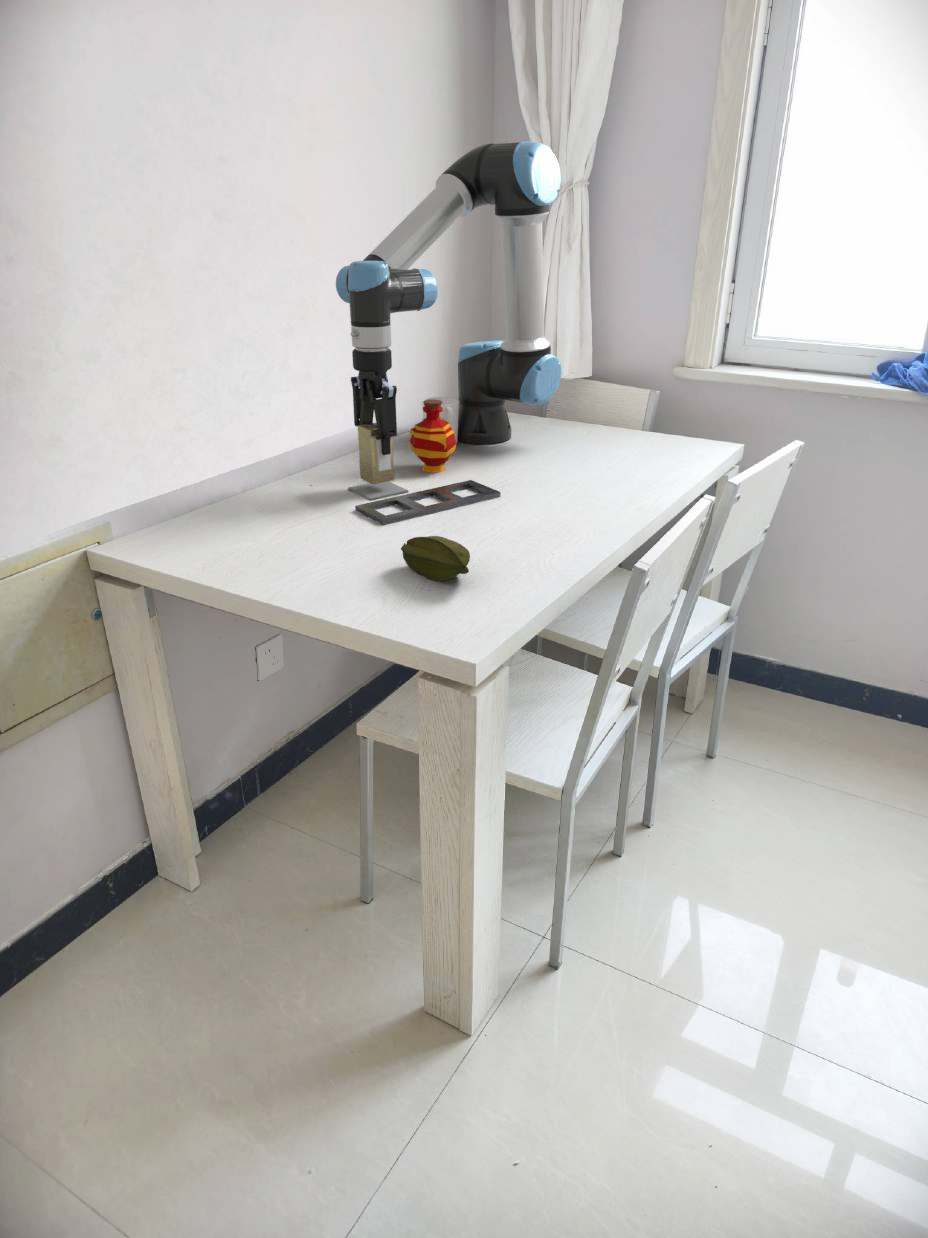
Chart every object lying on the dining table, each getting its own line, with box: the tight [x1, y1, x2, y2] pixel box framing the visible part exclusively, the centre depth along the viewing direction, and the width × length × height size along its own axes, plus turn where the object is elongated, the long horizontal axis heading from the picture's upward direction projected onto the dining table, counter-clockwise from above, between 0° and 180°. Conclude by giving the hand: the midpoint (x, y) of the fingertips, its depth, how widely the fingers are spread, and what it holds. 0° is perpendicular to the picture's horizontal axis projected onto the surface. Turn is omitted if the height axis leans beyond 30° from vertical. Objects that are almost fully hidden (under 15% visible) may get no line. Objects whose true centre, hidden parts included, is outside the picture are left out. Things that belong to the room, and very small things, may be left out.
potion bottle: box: [408, 399, 457, 473], centre depth 187 cm, size 10×10×15 cm
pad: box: [347, 481, 409, 501], centre depth 176 cm, size 9×9×1 cm
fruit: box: [400, 535, 471, 582], centre depth 135 cm, size 11×12×7 cm
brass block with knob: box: [357, 422, 395, 484], centre depth 172 cm, size 5×5×11 cm
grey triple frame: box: [354, 479, 501, 526], centre depth 169 cm, size 10×28×1 cm, turn 127°
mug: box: [421, 396, 459, 445], centre depth 207 cm, size 11×9×10 cm
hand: (376, 466), depth 174 cm, fingers closed on brass block with knob, 5 cm apart
